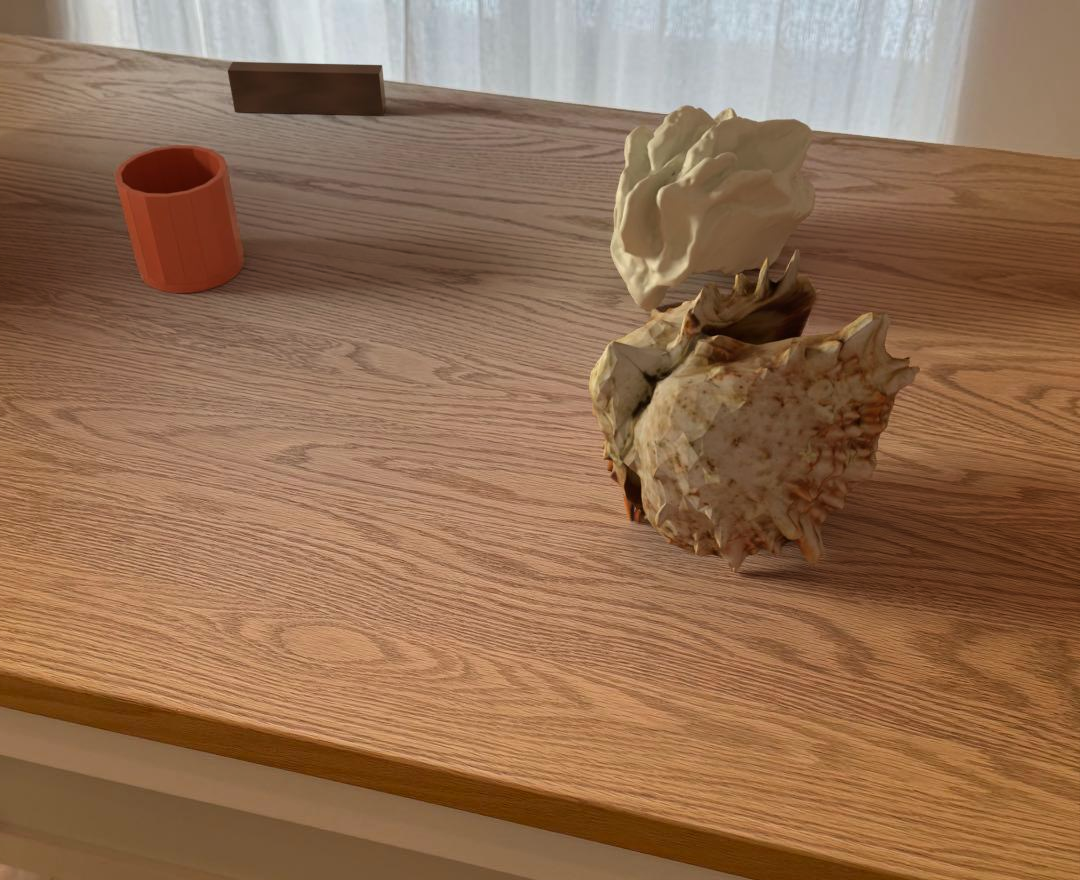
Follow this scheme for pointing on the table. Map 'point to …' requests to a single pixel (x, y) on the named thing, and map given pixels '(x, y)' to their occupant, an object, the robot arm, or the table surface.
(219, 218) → the cup
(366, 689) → the table surface
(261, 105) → the side rail
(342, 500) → the table surface
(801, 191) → the wavy plaster lump
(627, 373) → the seashell
